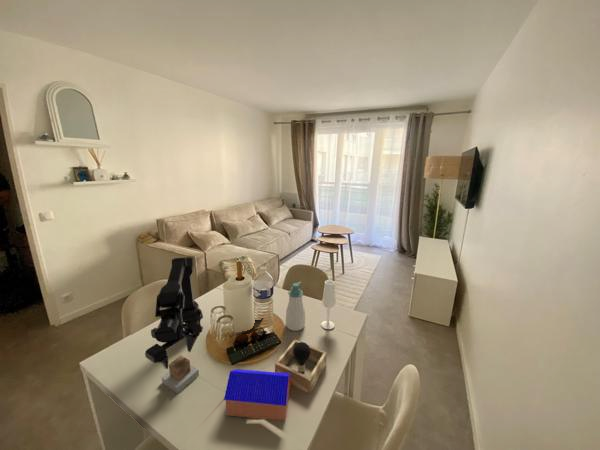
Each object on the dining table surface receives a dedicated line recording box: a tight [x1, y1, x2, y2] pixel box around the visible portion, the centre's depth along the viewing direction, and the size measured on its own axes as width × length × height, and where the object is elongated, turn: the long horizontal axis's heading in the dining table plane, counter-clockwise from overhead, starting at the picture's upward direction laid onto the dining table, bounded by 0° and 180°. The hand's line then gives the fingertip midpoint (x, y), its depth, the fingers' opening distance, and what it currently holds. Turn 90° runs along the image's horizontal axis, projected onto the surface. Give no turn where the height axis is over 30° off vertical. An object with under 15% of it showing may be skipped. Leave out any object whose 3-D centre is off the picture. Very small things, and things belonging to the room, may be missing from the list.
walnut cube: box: [168, 355, 191, 381], centre depth 90 cm, size 5×5×5 cm
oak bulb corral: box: [274, 339, 328, 395], centre depth 95 cm, size 15×15×6 cm
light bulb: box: [293, 341, 310, 373], centre depth 94 cm, size 7×7×12 cm
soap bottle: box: [285, 281, 306, 332], centre depth 120 cm, size 10×10×23 cm
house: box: [223, 368, 291, 422], centre depth 82 cm, size 12×20×12 cm, turn 85°
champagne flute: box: [321, 279, 336, 330], centre depth 120 cm, size 7×7×24 cm
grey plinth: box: [161, 364, 200, 395], centre depth 91 cm, size 9×9×3 cm
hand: (178, 359), depth 89 cm, fingers open, 9 cm apart
